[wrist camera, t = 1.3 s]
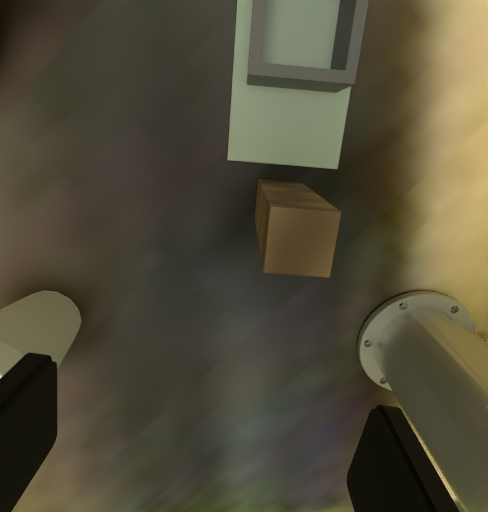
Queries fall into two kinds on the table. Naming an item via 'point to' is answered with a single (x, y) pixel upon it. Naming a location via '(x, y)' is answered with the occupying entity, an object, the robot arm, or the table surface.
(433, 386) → the robot arm
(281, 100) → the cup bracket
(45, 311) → the foam cup
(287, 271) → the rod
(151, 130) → the table surface
